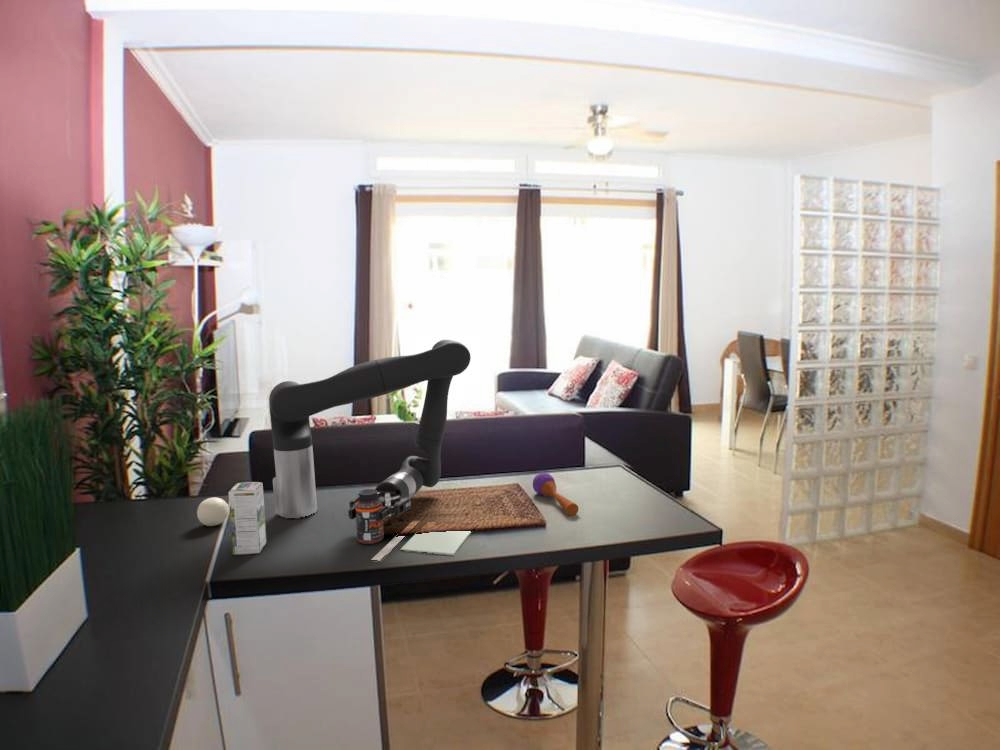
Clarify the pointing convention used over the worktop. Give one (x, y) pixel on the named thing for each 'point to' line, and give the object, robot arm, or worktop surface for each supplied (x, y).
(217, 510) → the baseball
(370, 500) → the supplement bottle
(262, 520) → the syrup box
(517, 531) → the worktop surface
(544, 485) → the purple and orange maraca
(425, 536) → the mat
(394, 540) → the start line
